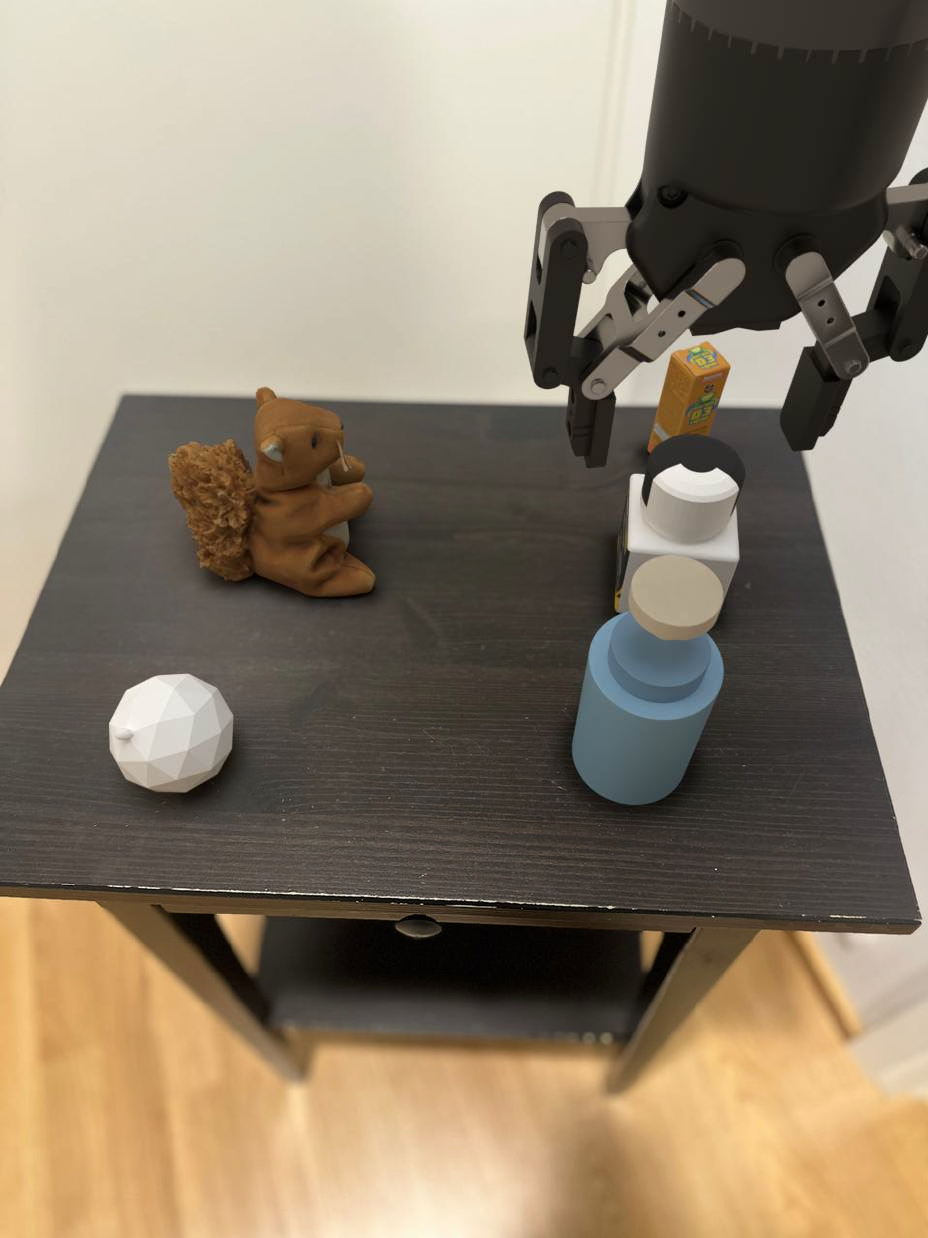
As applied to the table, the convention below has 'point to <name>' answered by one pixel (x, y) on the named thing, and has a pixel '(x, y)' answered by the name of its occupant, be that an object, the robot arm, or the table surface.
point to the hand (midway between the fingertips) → (693, 445)
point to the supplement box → (690, 393)
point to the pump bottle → (642, 710)
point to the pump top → (675, 597)
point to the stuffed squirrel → (278, 501)
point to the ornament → (171, 733)
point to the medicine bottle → (682, 510)
